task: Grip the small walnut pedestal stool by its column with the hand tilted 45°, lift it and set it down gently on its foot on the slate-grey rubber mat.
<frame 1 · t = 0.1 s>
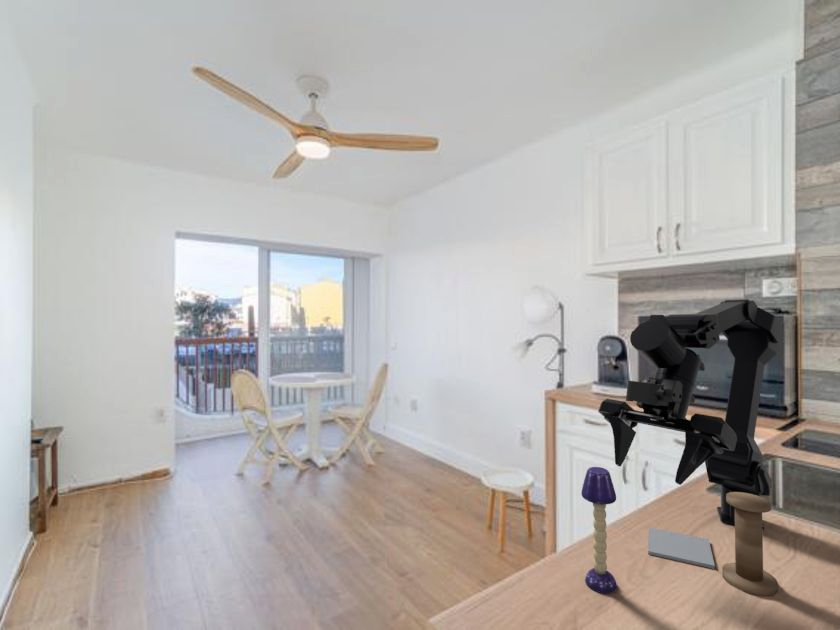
hand: (646, 473, 65), 15 cm above the worktop, tool tilted 35°, fingers open, 9 cm apart
walnut stool: (749, 582, 63), on the worktop
toy lamp: (599, 586, 62), on the worktop
grey mat: (679, 547, 72), on the worktop
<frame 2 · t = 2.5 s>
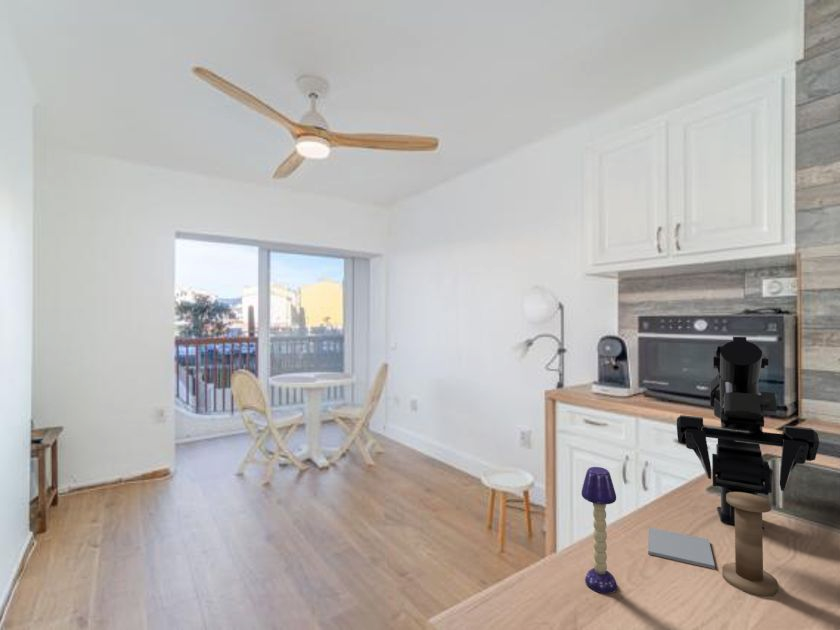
hand: (744, 483, 68), 12 cm above the worktop, tool tilted 45°, fingers open, 9 cm apart
nothing on the worktop moved.
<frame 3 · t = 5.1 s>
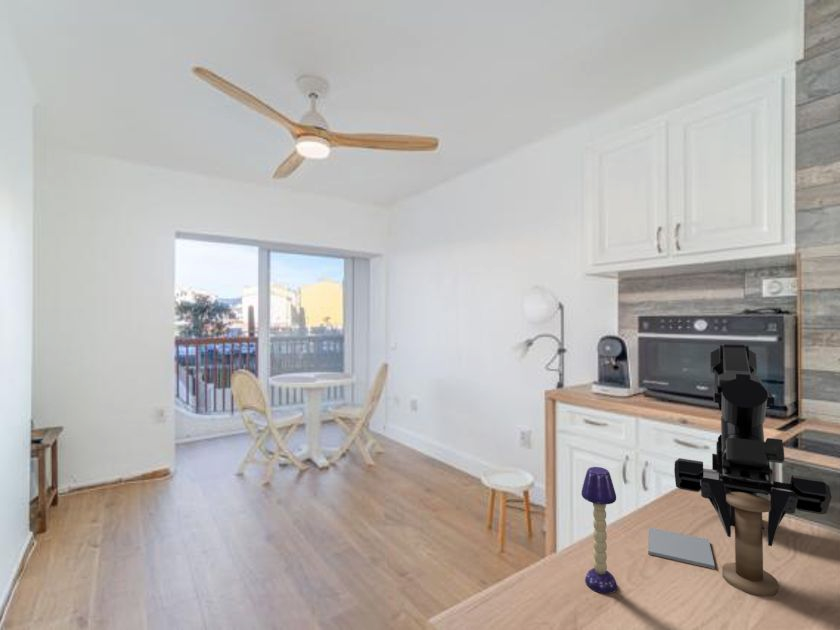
hand: (749, 540, 61), 7 cm above the worktop, tool tilted 45°, fingers closed on walnut stool, 4 cm apart
walnut stool: (749, 581, 63), on the worktop, touching gripper
everything else where it was.
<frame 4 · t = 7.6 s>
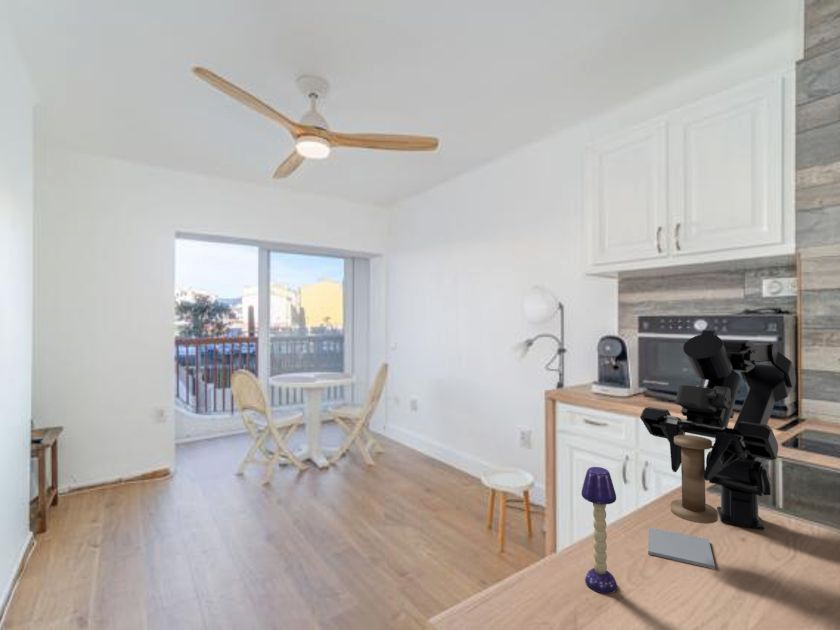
hand: (689, 474, 69), 13 cm above the worktop, tool tilted 45°, fingers closed on walnut stool, 4 cm apart
walnut stool: (693, 513, 69), point 7 cm above the worktop, touching gripper
everything else where it was.
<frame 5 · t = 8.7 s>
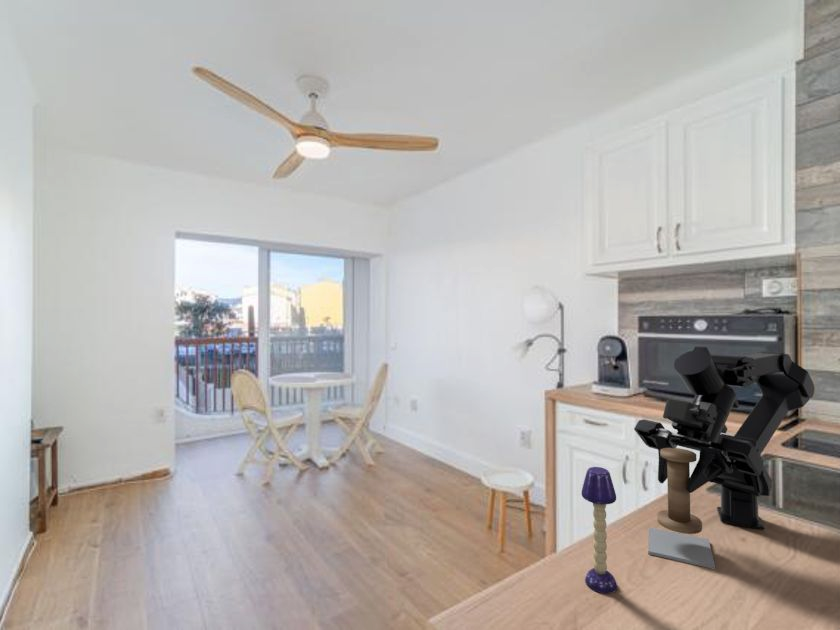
hand: (673, 486, 71), 10 cm above the worktop, tool tilted 45°, fingers closed on walnut stool, 4 cm apart
walnut stool: (679, 524, 72), point 4 cm above the worktop, touching gripper
everything else where it was.
when the fingers open (8 cm above the worktop, at t = 9.9 s): walnut stool drops 1 cm, resting on grey mat.
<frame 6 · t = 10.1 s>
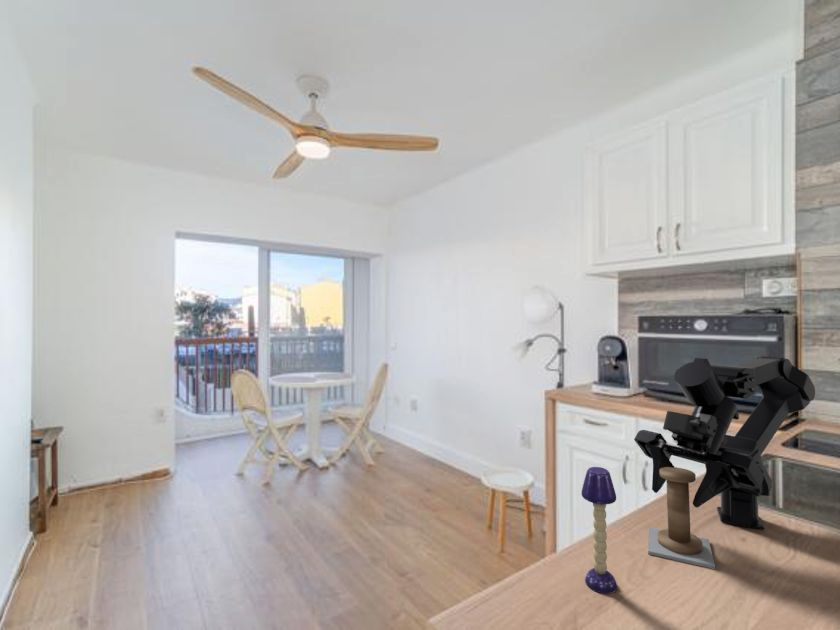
hand: (673, 498, 71), 9 cm above the worktop, tool tilted 45°, fingers open, 6 cm apart
walnut stool: (679, 544, 72), point 1 cm above the worktop, touching grey mat
everything else where it was.
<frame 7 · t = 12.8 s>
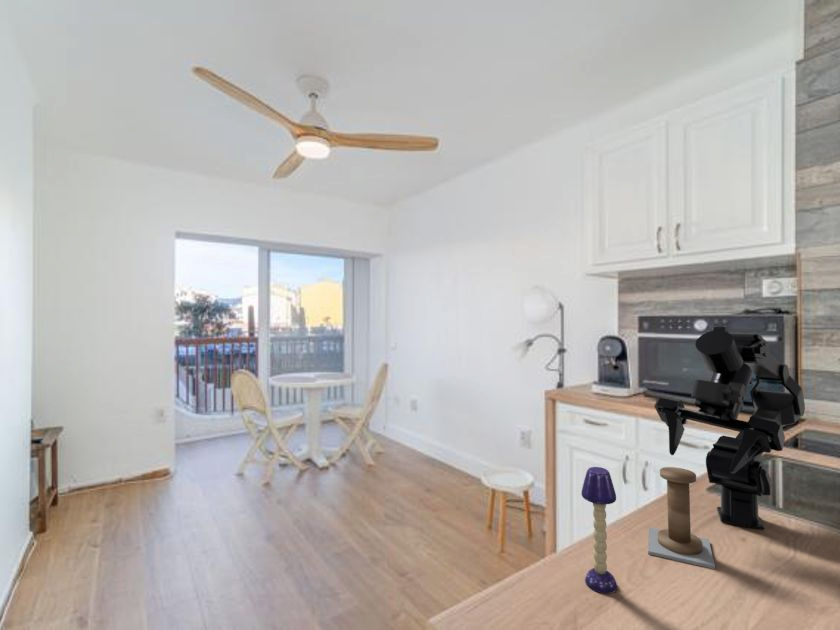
hand: (700, 462, 74), 14 cm above the worktop, tool tilted 40°, fingers open, 9 cm apart
nothing on the worktop moved.
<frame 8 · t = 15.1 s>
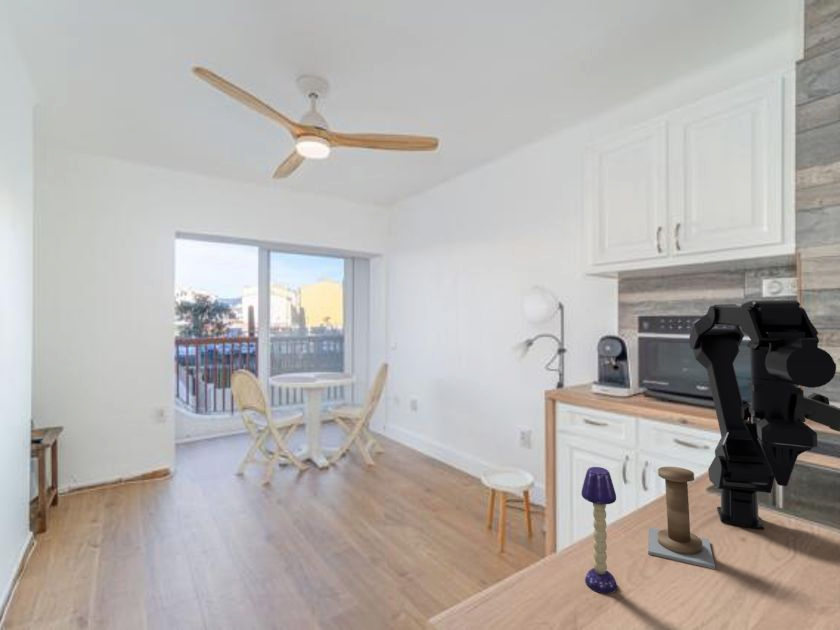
hand: (774, 475, 69), 13 cm above the worktop, tool pointing down, fingers open, 9 cm apart
nothing on the worktop moved.
at the end: walnut stool 0.1 cm off-centre on the grey mat, point 0.6 cm above the grey mat's base; walnut stool tilted 2°; the gripper is holding nothing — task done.
